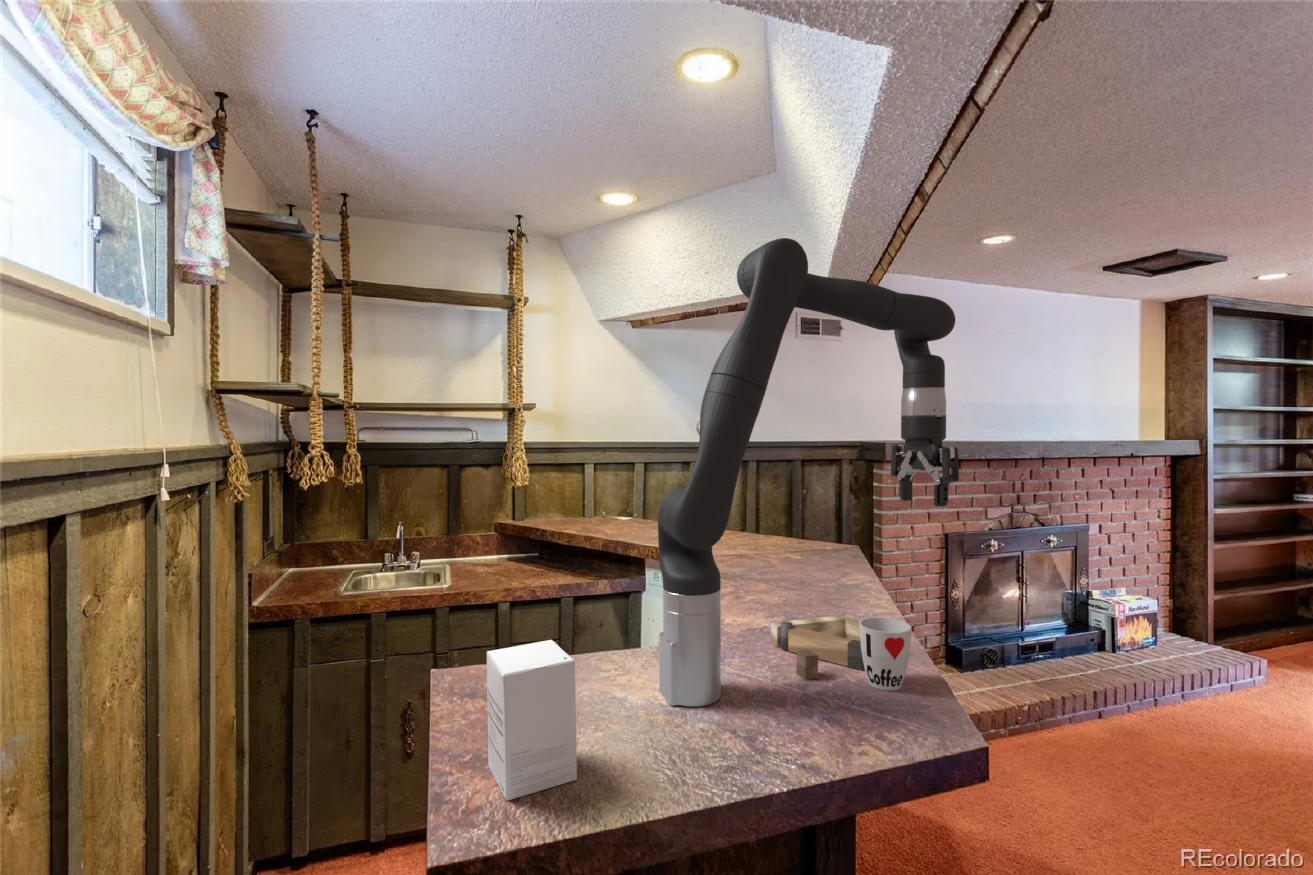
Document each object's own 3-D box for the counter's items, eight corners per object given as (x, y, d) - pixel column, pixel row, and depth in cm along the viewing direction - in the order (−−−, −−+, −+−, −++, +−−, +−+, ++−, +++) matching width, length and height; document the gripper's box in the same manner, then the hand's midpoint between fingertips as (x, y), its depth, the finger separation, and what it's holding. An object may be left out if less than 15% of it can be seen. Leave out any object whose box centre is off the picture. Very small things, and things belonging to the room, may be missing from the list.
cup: (855, 688, 102) (855, 628, 102) (863, 671, 109) (863, 614, 109) (908, 698, 98) (908, 635, 98) (913, 679, 106) (913, 621, 105)
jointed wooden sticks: (805, 680, 106) (805, 656, 106) (757, 644, 123) (757, 624, 123) (907, 665, 112) (907, 643, 112) (848, 633, 129) (848, 614, 129)
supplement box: (554, 748, 84) (553, 637, 84) (578, 781, 76) (577, 659, 76) (486, 765, 80) (485, 649, 79) (504, 803, 72) (503, 674, 71)
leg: (861, 669, 110) (861, 642, 109) (778, 648, 120) (778, 623, 120) (867, 665, 112) (867, 638, 111) (784, 644, 122) (784, 620, 122)
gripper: (879, 414, 118) (879, 499, 119) (936, 413, 105) (935, 509, 105) (912, 414, 121) (911, 498, 121) (971, 413, 107) (970, 507, 108)
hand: (922, 503), depth 113 cm, fingers open, 8 cm apart
